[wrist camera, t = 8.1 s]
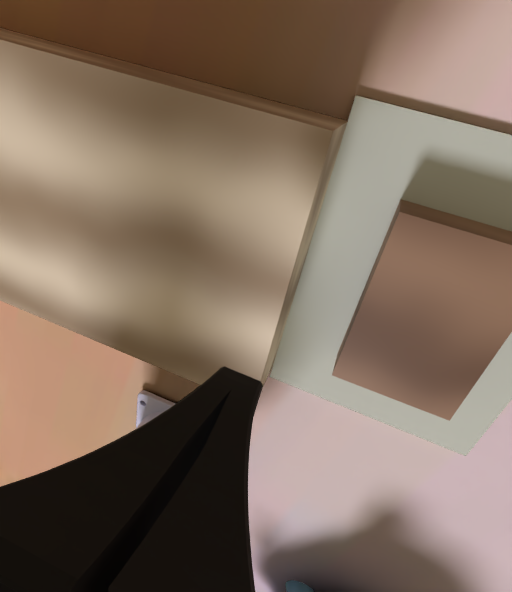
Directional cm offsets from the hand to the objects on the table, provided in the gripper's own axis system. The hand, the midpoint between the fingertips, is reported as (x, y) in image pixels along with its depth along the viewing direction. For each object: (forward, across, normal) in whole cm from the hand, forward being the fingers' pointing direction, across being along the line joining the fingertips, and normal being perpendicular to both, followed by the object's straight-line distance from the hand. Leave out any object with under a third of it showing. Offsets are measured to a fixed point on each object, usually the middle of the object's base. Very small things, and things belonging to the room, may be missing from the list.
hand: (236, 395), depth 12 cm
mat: (+10, -6, 0) cm, 11 cm away
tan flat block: (+10, +10, 0) cm, 14 cm away
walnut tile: (+8, -6, 0) cm, 10 cm away
